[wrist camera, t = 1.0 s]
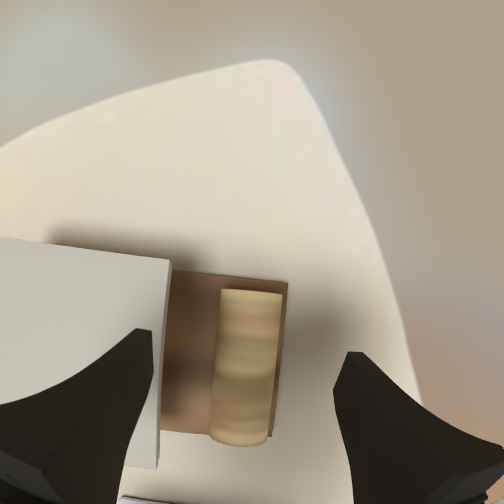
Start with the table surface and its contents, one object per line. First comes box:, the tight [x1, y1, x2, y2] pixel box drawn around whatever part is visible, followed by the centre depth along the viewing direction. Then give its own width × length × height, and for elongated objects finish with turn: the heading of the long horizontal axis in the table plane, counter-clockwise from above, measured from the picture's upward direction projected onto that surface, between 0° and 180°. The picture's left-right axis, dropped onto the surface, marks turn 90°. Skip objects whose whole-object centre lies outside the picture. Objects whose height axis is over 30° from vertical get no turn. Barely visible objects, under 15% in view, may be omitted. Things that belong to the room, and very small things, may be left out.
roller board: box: [160, 270, 288, 437], centre depth 17 cm, size 12×34×8 cm, turn 84°
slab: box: [0, 237, 173, 470], centre depth 15 cm, size 12×12×2 cm
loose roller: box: [209, 289, 283, 447], centre depth 20 cm, size 10×4×4 cm, turn 175°
